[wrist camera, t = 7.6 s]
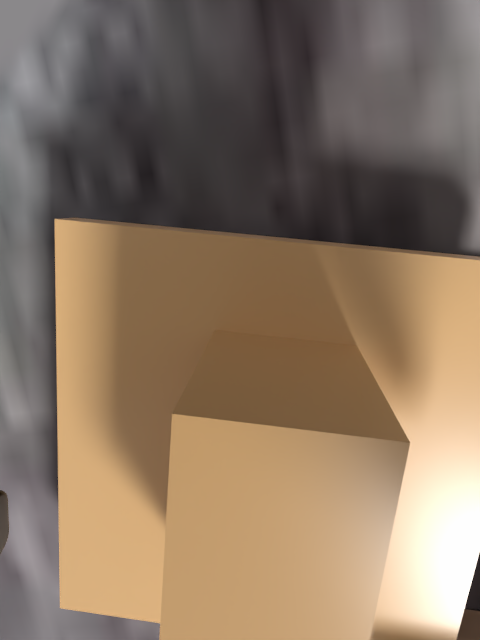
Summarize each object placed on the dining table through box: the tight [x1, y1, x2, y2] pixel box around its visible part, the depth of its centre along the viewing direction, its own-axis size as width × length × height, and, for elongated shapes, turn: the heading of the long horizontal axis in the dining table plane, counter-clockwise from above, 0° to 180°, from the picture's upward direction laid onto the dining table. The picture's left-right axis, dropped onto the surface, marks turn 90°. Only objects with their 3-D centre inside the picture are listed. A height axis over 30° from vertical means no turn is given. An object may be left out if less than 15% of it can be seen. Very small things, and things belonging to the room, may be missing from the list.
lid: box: [55, 218, 480, 640], centre depth 9 cm, size 10×10×6 cm
